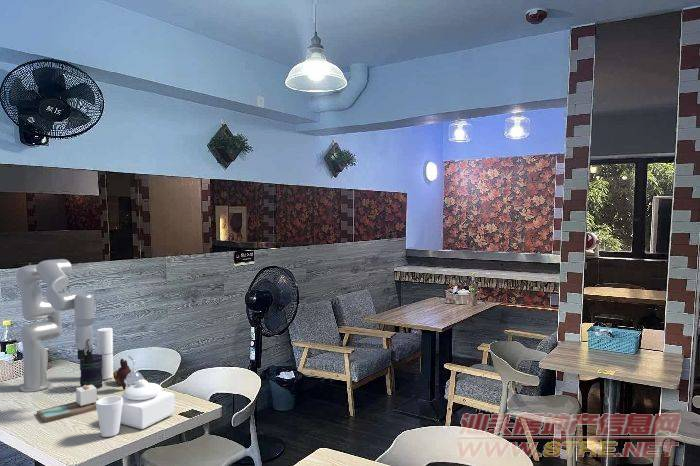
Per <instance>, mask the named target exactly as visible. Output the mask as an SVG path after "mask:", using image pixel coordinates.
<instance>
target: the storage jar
mask: <svg viewBox="0 0 700 466" xmlns="http://www.w3.org/2000/svg"><path fill="white" fill-rule="evenodd" d="M102 366H103V365H102V355H100V354H98V353H93V363H90V364H84V359H79V370H80V377H79V385H80V387H83V386H84V385H87V386H88V385H93V386H94V387H96V388H97V390H99V389H101V388H102V387H103V381H104V379H103V378H102V377H103V376H102Z"/></svg>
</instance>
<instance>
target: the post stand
mask: <svg viewBox="0 0 700 466" xmlns="http://www.w3.org/2000/svg"><path fill="white" fill-rule="evenodd" d="M98 399H99V398H97V400H98ZM94 411H97V410H96V402H94V403H90V404H86V405H82V406H80V405H79V404H78V403H77V402H76V401H73V402H69V403H63V404H60V405H57V406H52V407H48V408H45V409H40V410H36V415H37V416H38V417H39V419H40V420H41V421H42V422H43V424H48V423H51V422H52V423H53V422H55V421H59V420H62V419H66V418H71V417H74V416H78V415H82V414H86V413H89V412H94Z"/></svg>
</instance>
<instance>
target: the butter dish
mask: <svg viewBox="0 0 700 466" xmlns="http://www.w3.org/2000/svg"><path fill="white" fill-rule="evenodd" d="M120 396H121V397H123V405H122V413H121V421H120V425H125V426H128V427H133V428H136V429H140V430H144V429H146V428H147V427H149V426H152V425H154V424H156V423H158V422H160V421H162V420H163V419H165V418H168V417H169V416H172V415H174V414H175V413H176V394H175V393H174V392H171V391H165V390H163V388H162V386H161V385H160V384H158V383H155V382H149V381H148V380H146V379H145V378H144V379H142V380H139V381H138V382H137V384H136V385H133V386H130V387H129V388H127V387H126V388H125V390H123V394H122V395H120Z"/></svg>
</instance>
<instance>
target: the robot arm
mask: <svg viewBox="0 0 700 466" xmlns="http://www.w3.org/2000/svg"><path fill="white" fill-rule="evenodd" d="M72 272H73V265H72V263H71V262H70V261H69V260H68V259H65V258H59V259H58V258H57V259H48V260H43V261H40V262H38V264H30V265H25V266H22V267H19V268H18V269H17V271H16V274H15V279H16V284H17V287H18V288H19V291H20V298H21V312H22V317H23V319H24V320H25V321H36V320H37V321H38V320H43V319H47V320H43V321H38V322H37V321H36V322H31V323H29V324H28V323H27V324H25V325H24V326H22V327H21V328H20V331H19V335H20V341H21V346H22V361H23V362H22V366H23V368H22V369H23V373H22V374H23V384H22V385H21V386H20V387H19V391H21V392H24V393H32V392H33V393H34V392H39V391H40V392H41V391H43V390H45V389H48V388H49V387H50V386H51V384H52V383H51V381H48V369H47V368H48V364H47V363H48V361H47V357H48V355H47V349H46V347H45V346H44V345H43V344H42V342H46V341H50V340H56V339H58V338H60V336H61V335H62V333H63V322H62V320H63V319H62V312H65V311H71V310H74V327H75V331H74V332H75V333H74V334H75V337H74V340H75V341H74V346H75V348H76V349H77V360H80V359H84V364H90V363H93V354H94V351H93V348H94V331H93V326H94V325H95V300H94V297H95V296H94V295H93V294H92V293H86V291H82V290H79V291H72V292H64V293H63V292H62V293H59V292H61V291H62V290H64V289H65V288H66V287H67V286H68V285H69V282H70V278H69V276H70V275H71V274H72ZM43 282H44V283H45V285H46V286H47V288H46V291H45V297H46V298H43V292H42V291H43V290H42V288H41V287H40V286H39V284H37V283H43Z"/></svg>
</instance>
